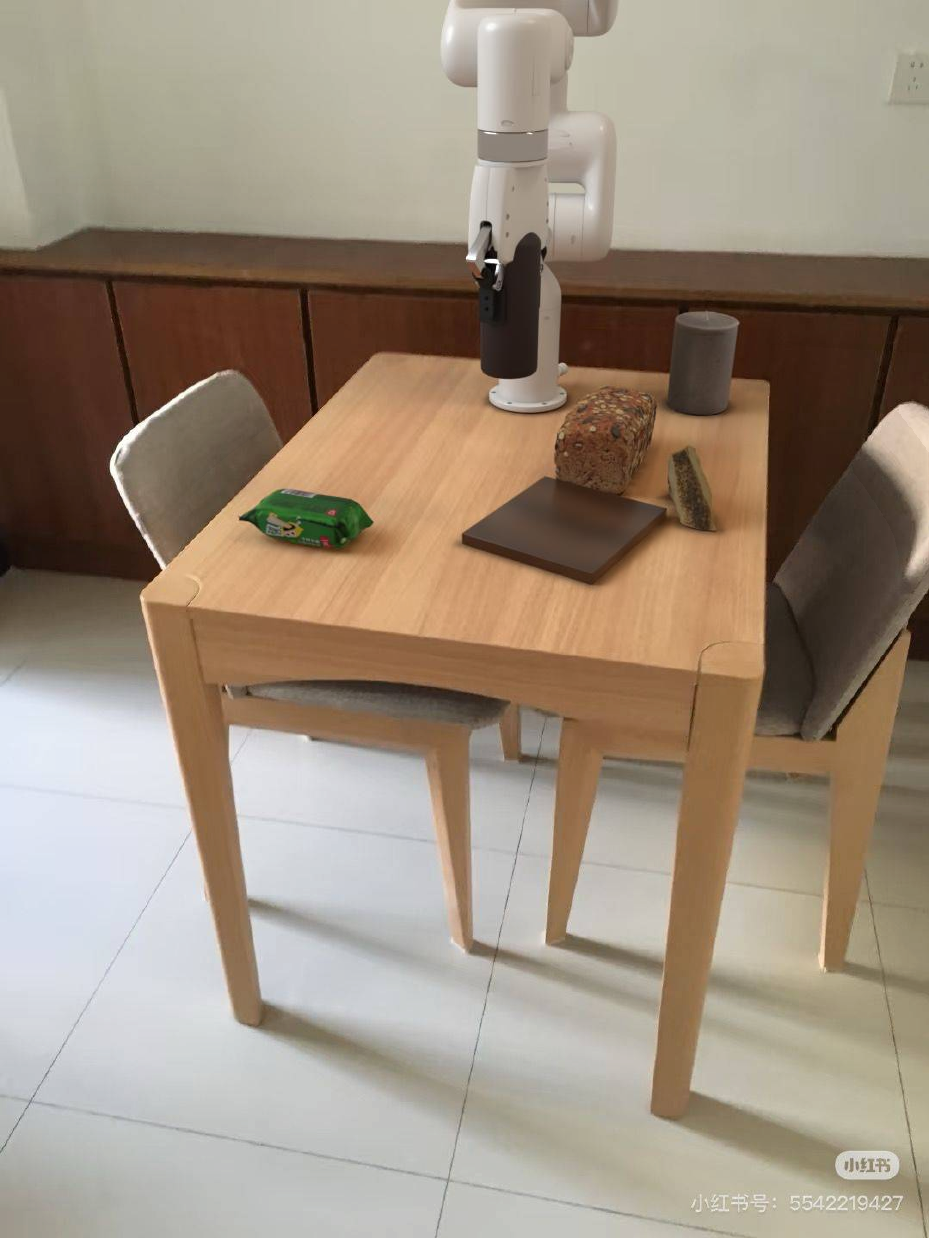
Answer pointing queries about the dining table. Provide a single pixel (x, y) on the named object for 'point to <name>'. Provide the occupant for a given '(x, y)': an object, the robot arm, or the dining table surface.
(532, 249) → the vinegar
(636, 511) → the serving board
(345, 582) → the dining table surface
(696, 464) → the rock
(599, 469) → the bread
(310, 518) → the snack package
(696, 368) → the pillar candle
